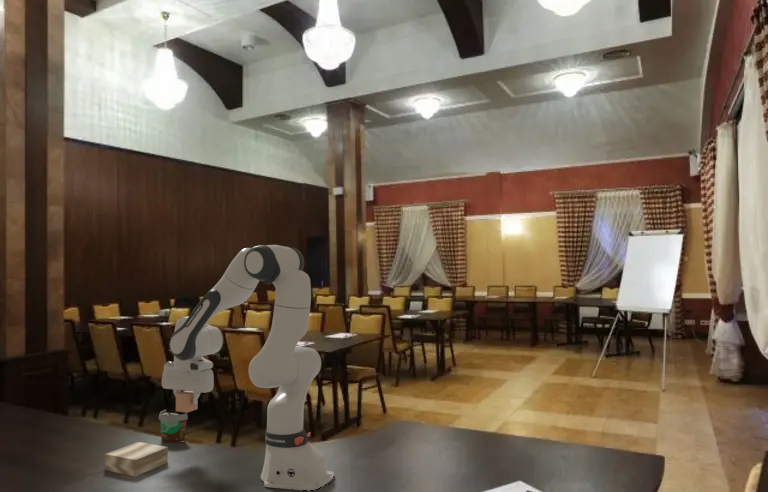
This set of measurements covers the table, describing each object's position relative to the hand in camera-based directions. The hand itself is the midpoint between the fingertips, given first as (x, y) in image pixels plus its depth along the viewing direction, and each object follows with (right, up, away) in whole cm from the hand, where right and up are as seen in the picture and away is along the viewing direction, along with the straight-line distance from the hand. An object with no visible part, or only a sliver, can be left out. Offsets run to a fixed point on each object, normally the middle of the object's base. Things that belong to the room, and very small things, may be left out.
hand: (186, 403), depth 184 cm
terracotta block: (0, -2, 0) cm, 2 cm away
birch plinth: (-12, -17, -12) cm, 24 cm away
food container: (-12, -18, +14) cm, 26 cm away
